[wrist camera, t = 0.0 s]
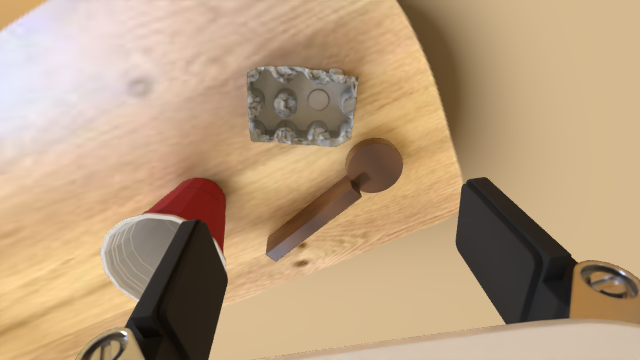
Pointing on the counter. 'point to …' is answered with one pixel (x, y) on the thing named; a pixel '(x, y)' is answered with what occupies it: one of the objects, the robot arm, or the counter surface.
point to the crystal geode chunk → (301, 105)
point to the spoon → (341, 193)
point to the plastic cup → (160, 233)
